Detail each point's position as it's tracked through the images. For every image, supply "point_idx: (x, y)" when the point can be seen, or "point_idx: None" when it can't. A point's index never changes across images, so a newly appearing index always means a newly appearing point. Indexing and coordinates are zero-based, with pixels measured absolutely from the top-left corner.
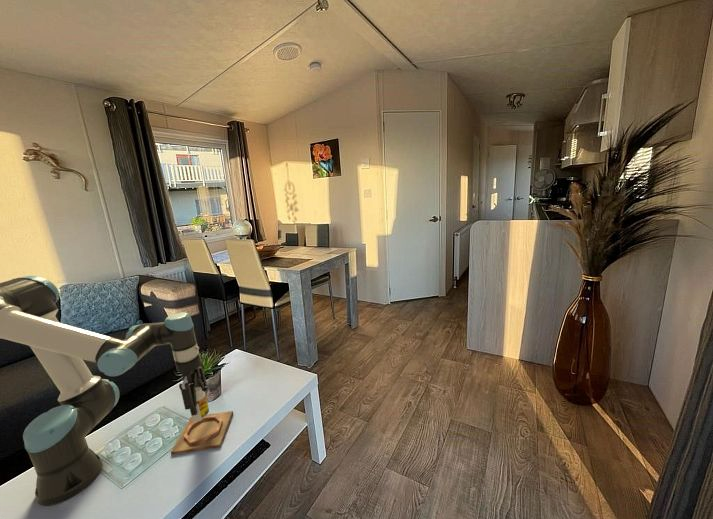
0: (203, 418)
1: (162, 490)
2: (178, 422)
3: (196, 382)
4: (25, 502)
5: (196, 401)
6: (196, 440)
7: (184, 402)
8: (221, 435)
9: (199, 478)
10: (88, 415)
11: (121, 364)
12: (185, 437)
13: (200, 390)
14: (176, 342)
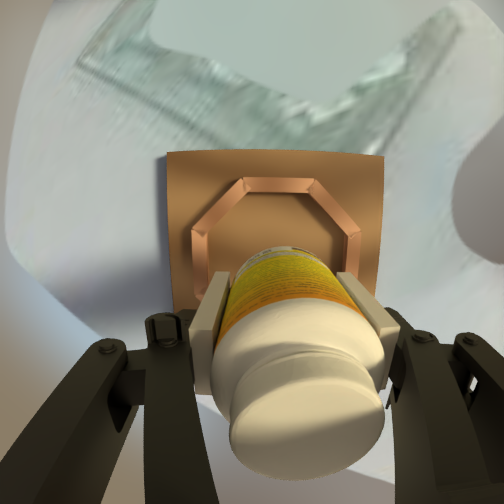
0: (347, 238)
1: (45, 204)
2: (371, 102)
3: (411, 475)
4: None
5: (215, 401)
6: (196, 259)
7: (59, 395)
8: None
9: (73, 306)
10: None
11: None
12: (227, 193)
13: (288, 478)
14: None
